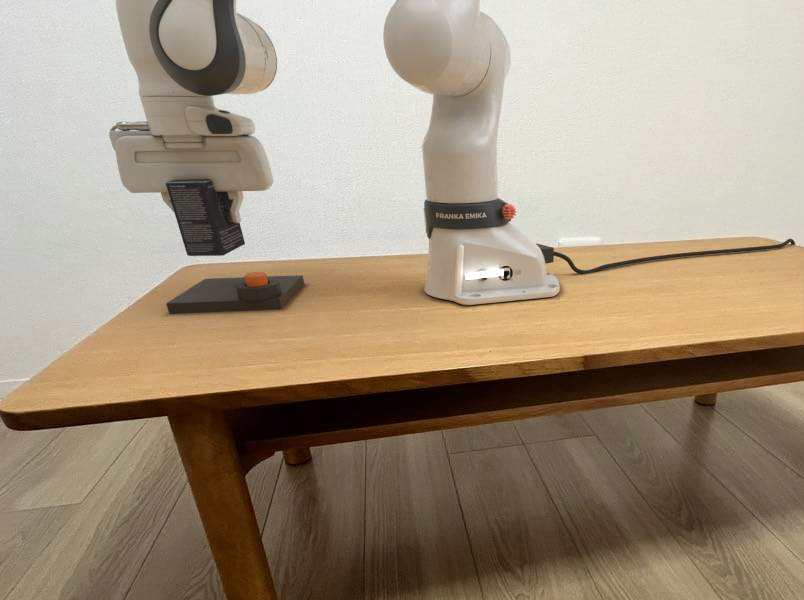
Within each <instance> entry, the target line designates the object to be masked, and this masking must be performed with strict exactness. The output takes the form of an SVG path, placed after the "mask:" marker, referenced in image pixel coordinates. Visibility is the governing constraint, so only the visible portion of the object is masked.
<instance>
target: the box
mask: <svg viewBox="0 0 804 600" xmlns="http://www.w3.org/2000/svg"><path fill="white" fill-rule="evenodd" d="M165 184H166V187H167V190H168V193H169V196H170V199H171V203H172V206H173V210H174V212H173V213H174V216H175V220H176V222H177V226H178V229H179V233H180V236H181V239H182V242H183V245H184V249H185V253H186V255H187V256H188V257H221V256H226V255H227V254H229V253H231V252H232V251H235V250H236V249H239V248H240V247H242V246H244V245H246V242H245V239H244V235H243V230H242V227H241V222H240V223H228V222H227V217H226V215H225V211H227V210H231V206H232V203H233V199H229V196H228V193H227V191H223V192H216V191H215V188H214V186H213V182H212V180H210V179H184V180H172V181H168V182H165Z"/></svg>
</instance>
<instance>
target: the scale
mask: <svg viewBox="0 0 804 600" xmlns="http://www.w3.org/2000/svg"><path fill="white" fill-rule="evenodd" d="M267 279H268V284H267V285H264V286H258V287H247V285H246V281H245V277H244V276H242V277H241V276H240V277H214V278H203V279H202V280H201V281H199V282H198V283H196V284H194V285H193V286H191V287H190V288H188V289H186V290H185V291H183V292H182V293H180V294H179V295H177V296H176V297H174V298H172V299H171V300H169V301H168V302H166V303H165V304H166V308H167V311H168V314H169V315H179V314H181V315H182V314H184V315H185V314H206V313H207V314H208V313H232V312H256V311H258V312H259V311H280V310H283V309H284V308H285V307H286V306H287V305H288V303H289V302H290V301H291V300H293V298H294V297H295V296H296V295H297V294H298V293H299V291H300V290H301V289H302V288H303V287H304V286H305V280H304V275H302V274H301V275H273V276H272V275H271V276H268V275H267Z"/></svg>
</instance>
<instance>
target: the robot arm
mask: <svg viewBox="0 0 804 600" xmlns="http://www.w3.org/2000/svg"><path fill="white" fill-rule="evenodd" d="M115 7H116V8H115V9H116V14H117V20H118V23H119V28H120V33H121V36H122V41H123V44H124V47H125V51H126V55H127V57H128V61H129V62H130V65H132V67H133V70H134V72H135V73H136V77H137V81H138V96H139V99H140V102H141V105H142V106H141V107H142V109H143V112H144V116H145V119H146V120H145V121H131V122H130V121H118V122H116V123H115V125H113V126H112V127H111V128H110V130H109V132H108V136H109V140H110V143H111V146H112V148H113V150H114V152H115V157H116V164H117V169H118V175H119V177H120V181H121V184H122V185H123V187H124V188H125V189H126V190H127V191H128V192H129V193H132V194H147V193H148V194H150V193H153V194H154V193H160V195H161V198H162V201H163V202H164V203H165V205H167V206H168V208H169V209H170V210H171V211H172V212H173V213H174V210H173V206H172V203H171V199H170V196H169V193H168V190H167V187H166V184H165V182H168V181H172V180H184V179H210V180H212V182H213V186H214V188H215V191H216V192H223V191H227V193H228V196H229V199H233V203H232V206H231V210H227V211H225V215H226V217H227V222H228V223H240V224H241V222H242V218H241V213H240V209H241V207H242V203H243V200H244V193H243V192H265V191H267V190H269V189H271V188H272V185H273V184H274V176H273V172H272V168H271V165H270V161H269V159H268V155H267V153H266V152H267V151H266V150H265V148H264V145H263V144H262V143H261V141H260V140H259V139H258V138H257V137H256V136H254V134H255V133H256V126H255V122H254V121H253V120H252V119H251V118H249V117H247V116H243V115H240V114H238V113H237V114H236V113H233V112H231V111H229V110H224V109H221V108H218V107H216V105H215V100H214V97H213V96H220V95H254V94H257V93H259V92H262V91H265V90H266V89H268V87H270V86H271V84H272V83H273V82H274V80H275V77H276V75H277V71H278V57H277V53H276V52H277V51H276V49H275V47H274V43H273V41H272V39H271V38H270V36H269V35H268V33H267V32H266V31H265V30H264V29H263V28H262V27H261V26H260V25H259V24H258V23H256V22H255V21H253V20H252V19H250V18H249V17H247V16H245V15H243V14H241V13H240V12H237V0H115ZM480 9H481V8H480V0H395V2H394V3H393V5H392V6H391V7H390V9H389V11H388V13H387V14H386V18H385V21H384V24H383V34H382V35H383V36H382V39H383V48H384V52H385V55H386V58H387V60H388V62H389V65H390V66H391V68H392V69H393V71H394V72H395V74H397V76H398V77H400V79H402V80H403V81H404V82H406V83H408V84H409V85H410V86H412V87H414V88H415V89H417V90H419V91H421V92H423V93H425V94H429V95H432V105H431V113H430V118H429V119H430V120H429V124H428V128H427V131H426V133H425V135H424V137H423V140H422V145H421V152H422V153H421V154H422V164H423V175H424V187H425V188H424V189H425V198H426V199H424V202H423V219H424V228H425V234H426V237H427V238H428V256H427V269H426V270H427V271H426V277H425V284H424V288H423V291H424V293H426V294H427V295H428V296H431V297H433V298H435V299H441V300H446V301H452V302H455V303H456V304H460V305H463V306H473V305H484V304H494V303H503V302H504V303H505V302H514V301H523V300H524V301H525V300H533V299H543V298H552V297H555V296H557V295H558V294H559V293H560V290H561V288H560V282H559V281H560V280H559V279H558V278H557V276H555V275H554V274H552V273H551V272H548V271H547V264H552V263H554V259H555V258H554V257H557V258H560V259H563V260H564V261H566V262H567V264H568V265H569V267H570V268H571V270H572V271H573V272H575V273H576V274H580V275H587V274H593V273H598V272H600V271H603V270H606V269H610V268H611V269H612V268H617V267H621V266H629V265H633V264H638V263H644V262H652V261H660V260H667V259H675V258H676V259H677V258H685V257H686V258H687V257H696V256H697V257H698V256H708V255H709V256H710V255H720V254H733V253H745V252H755V251H765V250H775V249H781V248H784V247H786V246H787V245H788V244H789V243H790V244H791V246H795V245H796V242H795V240H794V239H793V238H788V239H786V240H785V241H783V242H782V243H778V244H771V245H770V244H769V245H760V246H749V247H739V248H726V249H725V248H723V249H713V250H704V251H703V250H701V251H689V252H679V253H671V254H663V255H661V254H660V255H653V256H646V257H640V258H633V259H627V260H622V261H618V262H611V263H606V264H602V265H599V266H597V267H594V268H591V269H581V268H578V267H577V266H576V265H575V264H574V262H573V260H572V259H571V258H570V257H569V256H567V254H564V253H561V252H559V251H558V252H557V251H555V248H554V247H553V246H548V245H544V244H540V243H536V242H535V241H533V240H532V239H531V238H529V237H528V236H527V235H526V234H524V233H523V232H522V231H521V230H520V229H518V228H517V227H515V226H514V225H513V224H512V223H511V222H512V219H514V218H515V216H516V215H517V210H516V208H515V206H514V205H513V204H511V203H509V202H507V201H505V200H503V199H502V198H499V196H498V155H497V154H498V153H497V152H498V150H497V149H498V134H499V124H500V116H501V111H502V110H501V109H502V104H503V103H502V102H503V95H504V87H505V82H506V79H507V76H508V75H509V71H510V68H511V61H512V59H511V57H512V56H511V48H510V44H509V42H508V39H507V37H506V35H505V34H504V32H503V30H502V29H501V28H500V27H499V25H498V24H497V22H496V21H495V20H494V19H493V18H492V17H490V15H488V14H486V13H484V12H482V11H481V10H480Z"/></svg>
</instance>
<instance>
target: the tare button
mask: <svg viewBox="0 0 804 600" xmlns="http://www.w3.org/2000/svg"><path fill="white" fill-rule="evenodd" d="M243 277H245V281H246V285H247V287H258V286H264V285H267V284H268V279H267V277H268V275H267V273H266V272H264V271H255V272H249V273H246V274H244V276H243Z"/></svg>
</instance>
